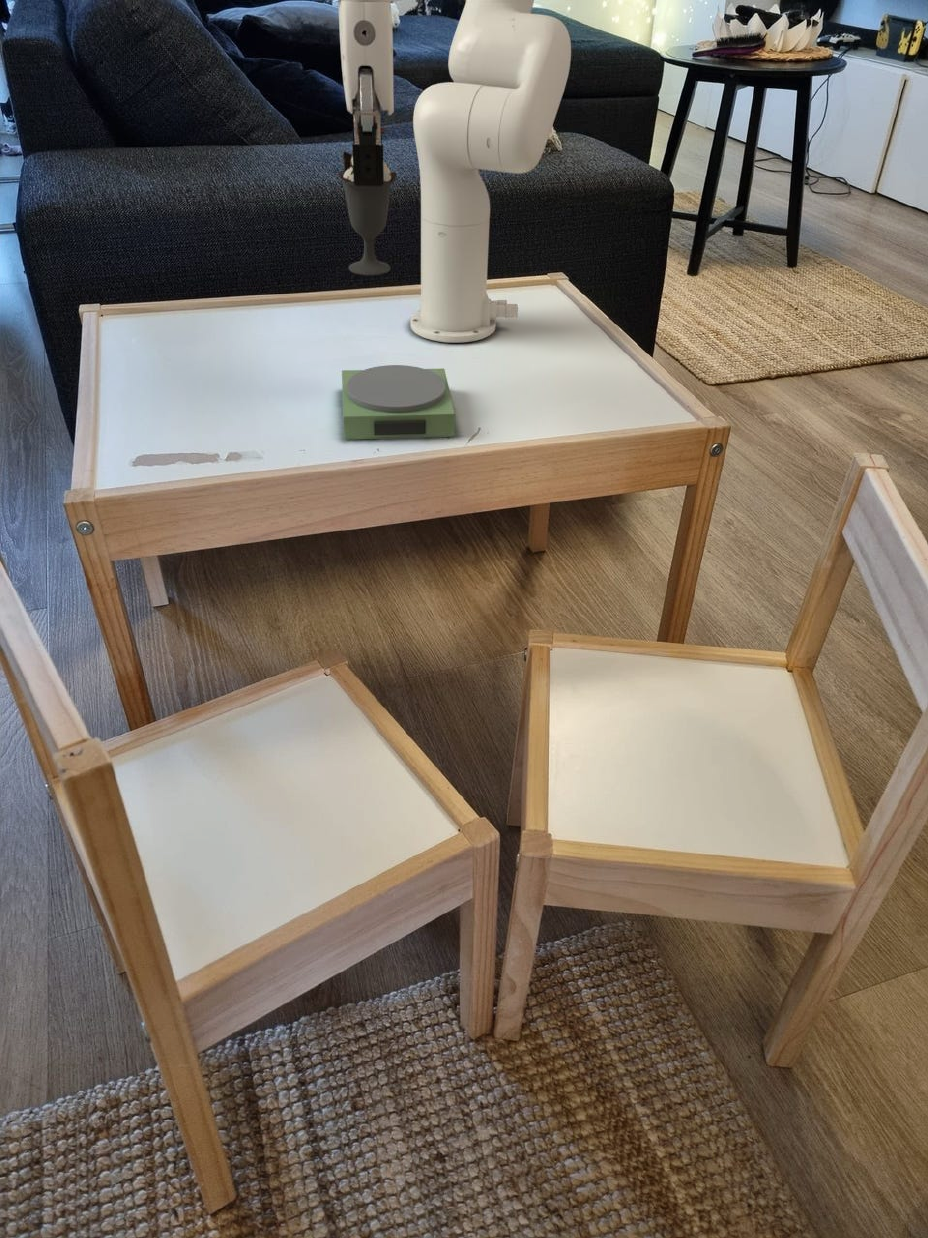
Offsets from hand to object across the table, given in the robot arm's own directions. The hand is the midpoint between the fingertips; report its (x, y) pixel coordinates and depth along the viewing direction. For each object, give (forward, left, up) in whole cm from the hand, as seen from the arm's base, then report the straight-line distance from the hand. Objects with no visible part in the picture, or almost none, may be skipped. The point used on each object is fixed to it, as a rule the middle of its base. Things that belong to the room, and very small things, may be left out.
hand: (368, 175), depth 102 cm
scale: (-2, +6, -26) cm, 27 cm away
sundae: (0, 0, -10) cm, 10 cm away
